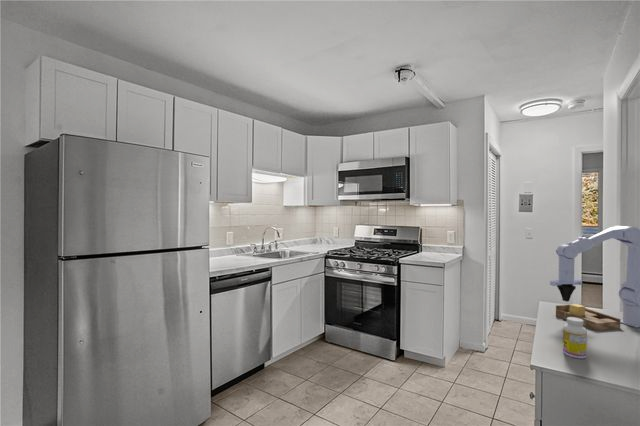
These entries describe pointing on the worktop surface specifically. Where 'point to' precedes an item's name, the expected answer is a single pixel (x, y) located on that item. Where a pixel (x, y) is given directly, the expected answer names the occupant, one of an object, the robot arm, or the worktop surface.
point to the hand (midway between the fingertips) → (565, 300)
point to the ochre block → (577, 309)
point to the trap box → (590, 318)
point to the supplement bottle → (575, 338)
